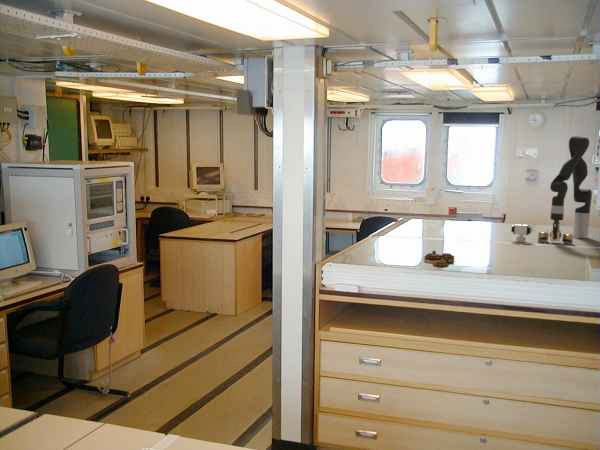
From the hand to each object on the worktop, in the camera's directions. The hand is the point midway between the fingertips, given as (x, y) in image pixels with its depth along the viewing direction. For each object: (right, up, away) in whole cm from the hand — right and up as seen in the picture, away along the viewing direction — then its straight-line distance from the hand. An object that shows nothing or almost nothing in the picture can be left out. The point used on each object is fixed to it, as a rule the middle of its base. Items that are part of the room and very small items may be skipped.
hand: (555, 238), depth 393 cm
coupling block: (0, -1, 0) cm, 1 cm away
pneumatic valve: (-20, -2, +5) cm, 21 cm away
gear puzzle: (-91, -11, -68) cm, 114 cm away
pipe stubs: (0, -3, 0) cm, 3 cm away
